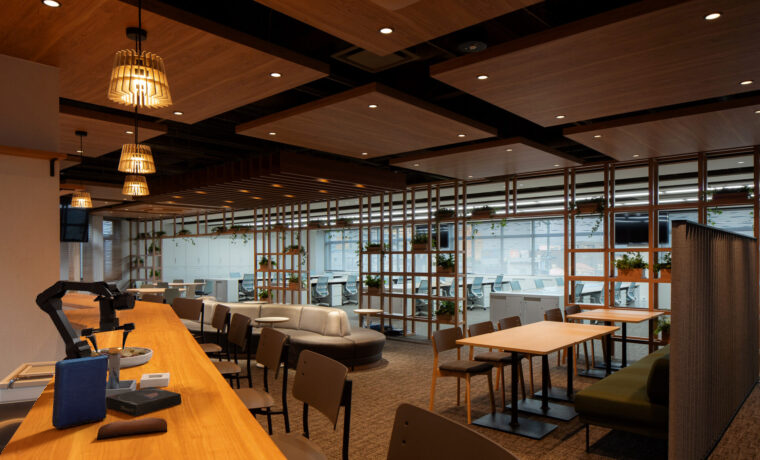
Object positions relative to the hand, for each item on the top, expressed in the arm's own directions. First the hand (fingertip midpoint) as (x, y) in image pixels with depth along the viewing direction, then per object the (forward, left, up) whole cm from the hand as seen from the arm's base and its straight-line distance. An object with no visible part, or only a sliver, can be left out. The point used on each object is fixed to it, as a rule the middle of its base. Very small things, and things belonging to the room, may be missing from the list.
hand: (110, 351), depth 198 cm
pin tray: (+4, -20, -12) cm, 24 cm away
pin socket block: (+17, -7, -12) cm, 23 cm away
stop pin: (+4, -20, -12) cm, 23 cm away
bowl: (-3, +39, -13) cm, 41 cm away
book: (0, -52, -13) cm, 53 cm away
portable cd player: (+16, -37, -13) cm, 42 cm away
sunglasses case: (+16, -63, -13) cm, 66 cm away
